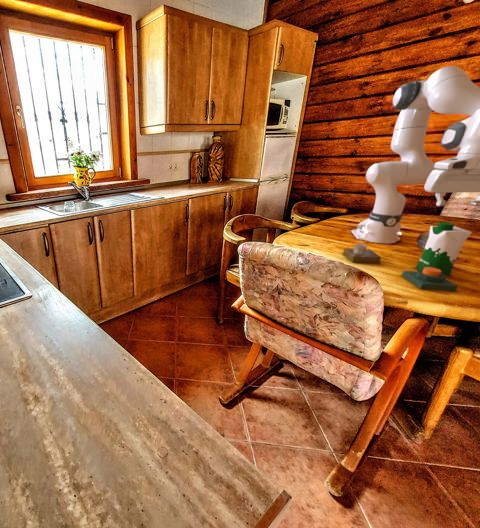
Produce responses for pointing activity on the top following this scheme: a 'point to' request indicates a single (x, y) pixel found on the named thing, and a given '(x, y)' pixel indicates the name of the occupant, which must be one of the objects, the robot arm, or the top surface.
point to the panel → (362, 256)
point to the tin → (423, 239)
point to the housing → (429, 281)
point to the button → (431, 271)
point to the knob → (359, 249)
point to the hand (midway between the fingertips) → (457, 205)
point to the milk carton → (443, 247)
